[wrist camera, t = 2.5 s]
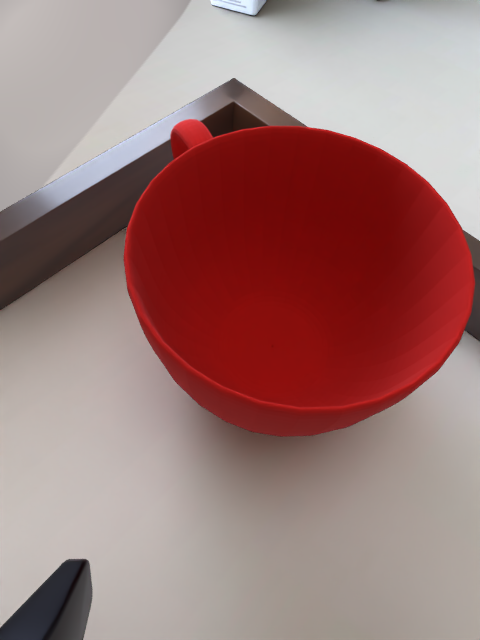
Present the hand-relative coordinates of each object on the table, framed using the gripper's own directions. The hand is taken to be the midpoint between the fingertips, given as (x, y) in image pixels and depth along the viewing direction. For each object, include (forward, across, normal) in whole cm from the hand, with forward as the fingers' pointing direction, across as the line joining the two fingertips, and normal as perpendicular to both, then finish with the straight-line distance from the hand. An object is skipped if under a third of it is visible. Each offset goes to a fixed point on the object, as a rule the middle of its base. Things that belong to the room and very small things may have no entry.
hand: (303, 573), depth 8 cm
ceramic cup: (+18, 0, +1) cm, 18 cm away
